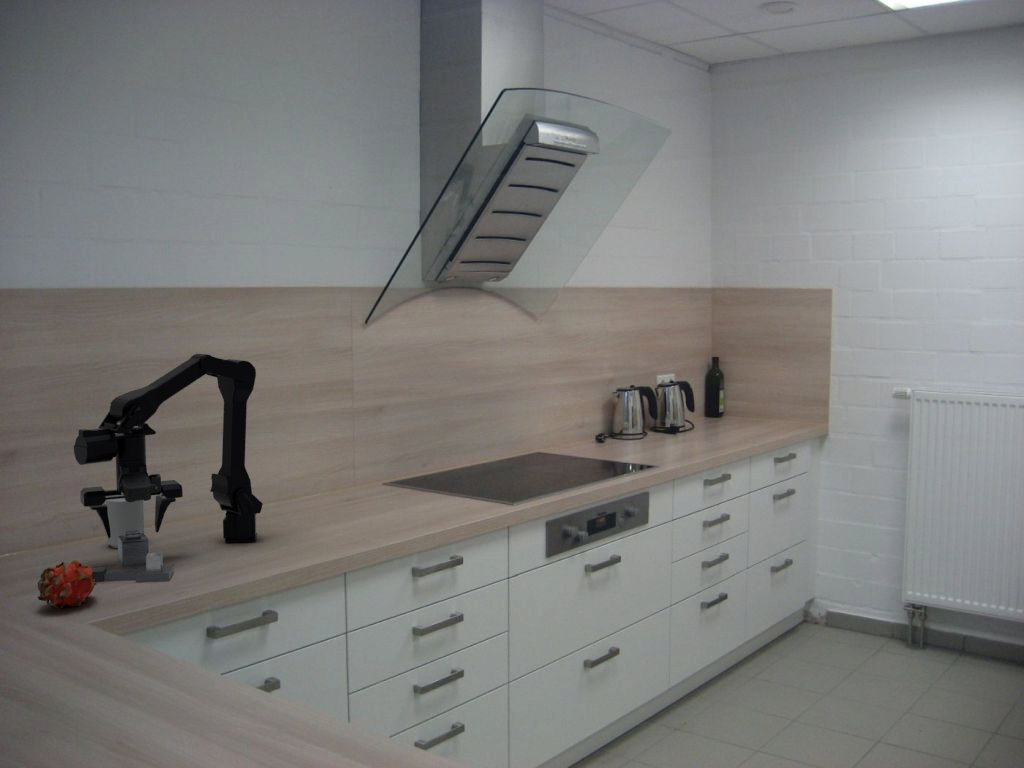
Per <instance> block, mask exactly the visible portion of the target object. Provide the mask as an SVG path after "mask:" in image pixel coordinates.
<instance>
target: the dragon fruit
mask: <svg viewBox="0 0 1024 768" xmlns="http://www.w3.org/2000/svg"><path fill="white" fill-rule="evenodd" d="M91 568H92V567H90V566H89V564H88V565H87V564H86V565H82V562H81V561H78V560H72V561H71V562H70V563H68V562H65V561H63V562H61V563H59V564H57V565H55V566H49V567H47V568H46V569H44V570H43V572H42V573H41V574H40V579H39V580H38V582H37V588H38V591H39V596H38V600H39V601H41V602H45V603H46V606H52V607H54V608H56V609H57V610H61V609H63V608H64V607H65V605H69V606H71V607H75V606H76V607H80V606H81V605H82V603H87V602H88V599H89V598H90V594H91V593H92V592H93V590H94V588H95V585H97V584H98V582H95V578H94V577H93V576H92V573H93V571H92V569H91Z"/></svg>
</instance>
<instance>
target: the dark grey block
mask: <svg viewBox="0 0 1024 768" xmlns="http://www.w3.org/2000/svg"><path fill="white" fill-rule="evenodd" d="M148 553H150V551H149V538H148V536H147V535H145V532H144V533H141V531H127V532H125V533H124V535H123V536H118V548H117V555H118V556H117V557H118V558H117V560H118V562H119V563H120V565H121V566H122V567H127V566H135V565H136V566H137V565H143V564H146V556H147V554H148Z"/></svg>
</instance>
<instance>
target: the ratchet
mask: <svg viewBox="0 0 1024 768" xmlns="http://www.w3.org/2000/svg"><path fill="white" fill-rule="evenodd" d="M163 558H164V557H163V552H149V553H148V554H147V556H146V563H145V565H143V566H142V565H141V566H140V567H139V568H126V569H108V567H106V566H104V567H103V566H102V567H90V568H91V569H92V571H93V573H92V576H93V577H94V578H95V582H96V583H102V582H103V583H104V582H115V581H118V582H119V581H135V583H152V582H153V583H154V582H156V583H157V582H169V581H170V579H171V578H172V576H173V574H174V564H164V560H163Z"/></svg>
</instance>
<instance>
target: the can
mask: <svg viewBox="0 0 1024 768" xmlns="http://www.w3.org/2000/svg"><path fill="white" fill-rule="evenodd" d="M116 489H117V488H115V489H114V490H116ZM121 494H123V492H122V493H121ZM105 504H106V505H107V507H108V518H109V524H110V531H111V537H110V538H108V536H107V535H106V544H108V545H109V546H110V547H111V548H114V549H118V536H123V535H124V533H125V532H127V531H141V533H144V534H145V514H144V513H145V512H144V510H145V509H144V507H145V506H144V500H139V501H134V502H127V501H126V500H125V498H120V499H110V500H106V501H105Z"/></svg>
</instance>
